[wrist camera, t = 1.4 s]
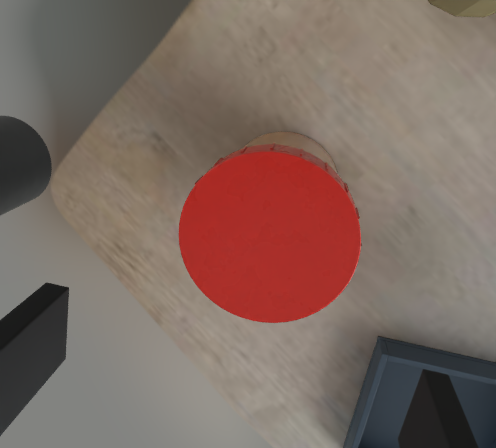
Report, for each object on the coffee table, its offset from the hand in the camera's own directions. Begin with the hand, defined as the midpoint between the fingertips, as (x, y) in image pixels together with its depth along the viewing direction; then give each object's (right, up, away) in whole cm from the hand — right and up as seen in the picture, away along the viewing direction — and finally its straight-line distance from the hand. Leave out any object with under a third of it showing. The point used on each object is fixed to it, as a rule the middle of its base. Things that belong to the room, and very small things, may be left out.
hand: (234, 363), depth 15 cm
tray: (+16, -11, +25) cm, 32 cm away
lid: (+1, +4, +10) cm, 11 cm away
